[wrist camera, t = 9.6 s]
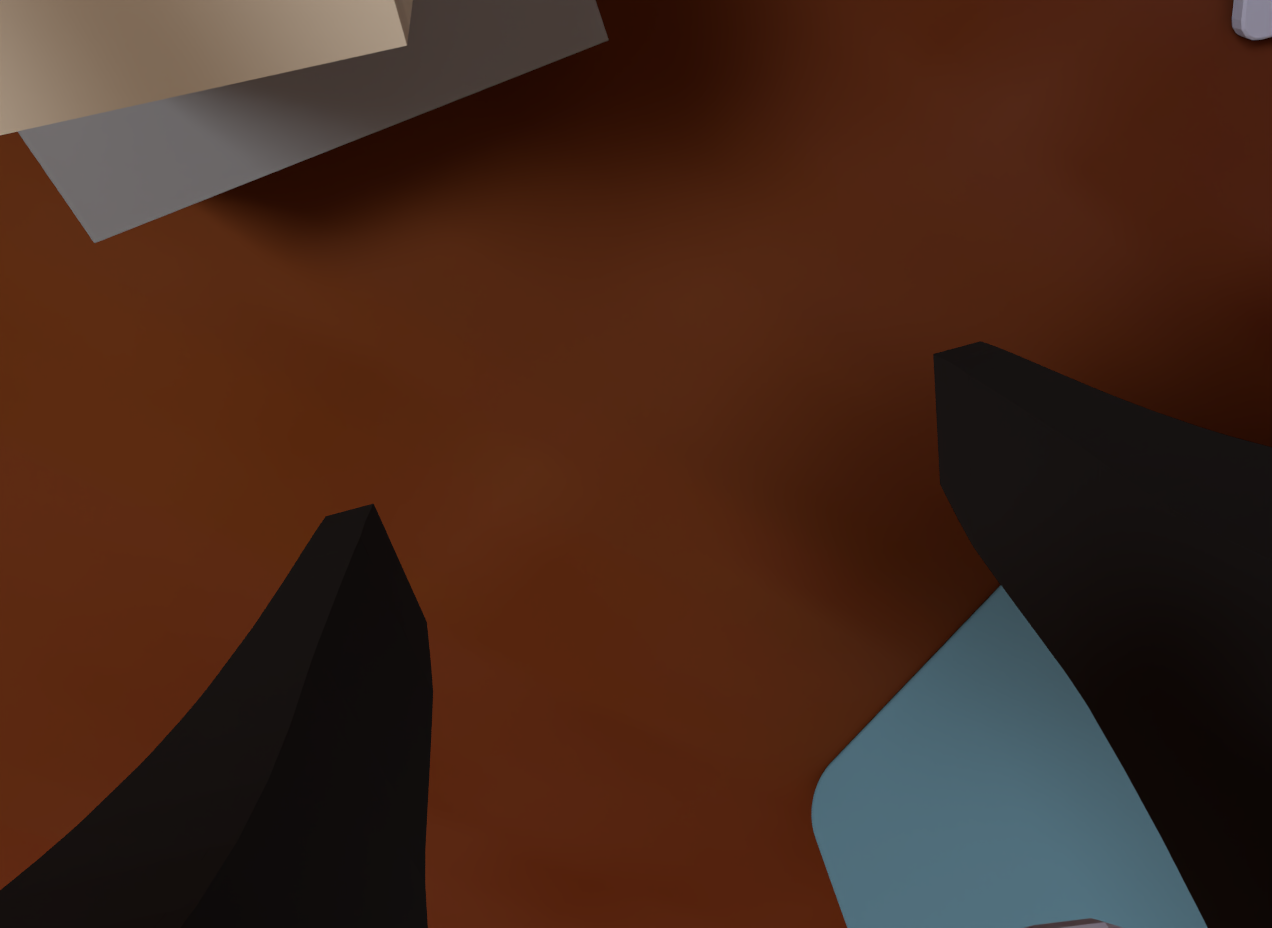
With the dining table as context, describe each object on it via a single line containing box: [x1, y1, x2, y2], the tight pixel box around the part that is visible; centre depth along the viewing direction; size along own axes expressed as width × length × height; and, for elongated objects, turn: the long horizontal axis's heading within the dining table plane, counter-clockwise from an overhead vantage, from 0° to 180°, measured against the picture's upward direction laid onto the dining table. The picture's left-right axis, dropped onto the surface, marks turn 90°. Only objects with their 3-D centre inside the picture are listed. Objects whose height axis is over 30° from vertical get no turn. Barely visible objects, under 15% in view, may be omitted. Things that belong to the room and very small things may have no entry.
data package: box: [812, 585, 1207, 928], centre depth 27 cm, size 12×4×12 cm, turn 147°
